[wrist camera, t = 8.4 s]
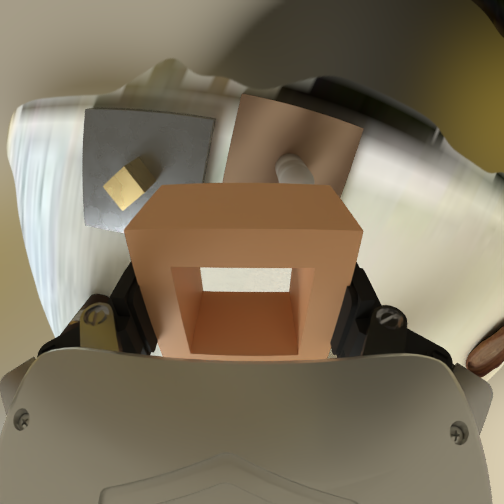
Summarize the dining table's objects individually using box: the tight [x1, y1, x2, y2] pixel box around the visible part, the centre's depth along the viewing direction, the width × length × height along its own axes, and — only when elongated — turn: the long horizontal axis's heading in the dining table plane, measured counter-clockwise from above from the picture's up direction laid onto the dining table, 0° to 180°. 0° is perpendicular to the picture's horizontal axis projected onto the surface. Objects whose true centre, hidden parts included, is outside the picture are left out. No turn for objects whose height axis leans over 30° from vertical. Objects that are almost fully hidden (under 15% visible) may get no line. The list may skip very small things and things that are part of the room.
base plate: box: [83, 108, 216, 233], centre depth 25 cm, size 14×14×5 cm
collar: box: [124, 183, 363, 361], centre depth 11 cm, size 7×7×4 cm
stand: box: [223, 94, 363, 198], centre depth 24 cm, size 12×12×6 cm
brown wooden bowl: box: [466, 326, 504, 378], centre depth 46 cm, size 22×20×5 cm
